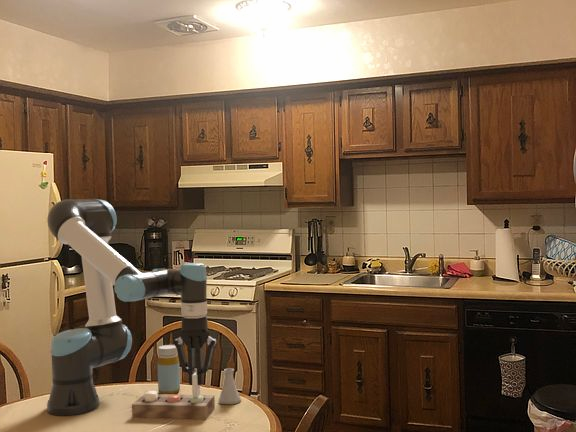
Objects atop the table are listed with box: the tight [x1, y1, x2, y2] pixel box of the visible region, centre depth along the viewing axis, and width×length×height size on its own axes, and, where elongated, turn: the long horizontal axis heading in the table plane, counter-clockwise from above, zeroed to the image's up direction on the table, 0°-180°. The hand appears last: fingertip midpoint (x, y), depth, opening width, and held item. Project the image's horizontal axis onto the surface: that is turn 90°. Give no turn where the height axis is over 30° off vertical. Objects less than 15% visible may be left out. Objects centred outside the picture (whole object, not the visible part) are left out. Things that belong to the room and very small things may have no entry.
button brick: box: [167, 394, 181, 402], centre depth 183 cm, size 4×4×4 cm
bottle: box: [157, 344, 181, 394], centre depth 204 cm, size 7×7×15 cm
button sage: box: [190, 394, 203, 403], centre depth 182 cm, size 4×4×4 cm
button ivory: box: [143, 390, 159, 402], centre depth 184 cm, size 4×4×4 cm
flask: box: [218, 368, 242, 405], centre depth 193 cm, size 7×7×10 cm
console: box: [131, 393, 216, 421], centre depth 183 cm, size 22×10×4 cm, turn 82°
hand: (196, 395), depth 182 cm, fingers closed
